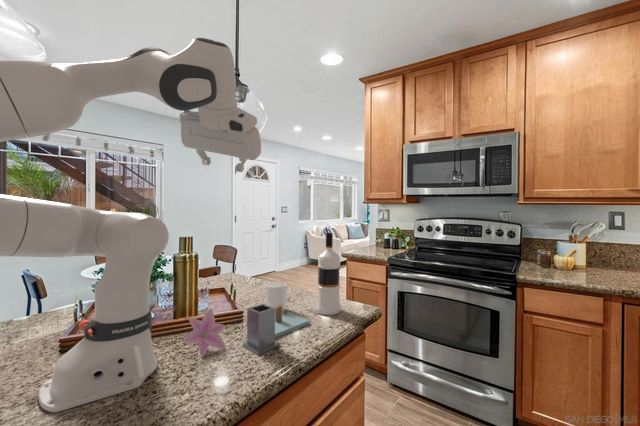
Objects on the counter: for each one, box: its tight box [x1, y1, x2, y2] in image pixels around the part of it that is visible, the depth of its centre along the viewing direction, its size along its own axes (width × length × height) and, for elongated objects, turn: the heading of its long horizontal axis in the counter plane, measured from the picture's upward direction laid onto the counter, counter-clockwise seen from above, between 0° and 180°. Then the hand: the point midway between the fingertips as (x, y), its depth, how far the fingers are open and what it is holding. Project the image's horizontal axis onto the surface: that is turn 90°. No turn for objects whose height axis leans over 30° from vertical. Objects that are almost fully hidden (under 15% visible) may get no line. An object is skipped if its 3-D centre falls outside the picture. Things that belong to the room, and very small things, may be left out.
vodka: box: [315, 232, 342, 316], centre depth 115 cm, size 9×9×30 cm
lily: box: [182, 308, 226, 358], centre depth 87 cm, size 12×12×10 cm
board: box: [275, 306, 311, 339], centre depth 103 cm, size 16×14×6 cm
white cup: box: [265, 281, 288, 310], centre depth 117 cm, size 8×8×10 cm
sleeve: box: [241, 303, 281, 356], centre depth 88 cm, size 8×8×11 cm
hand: (223, 167), depth 81 cm, fingers open, 8 cm apart
